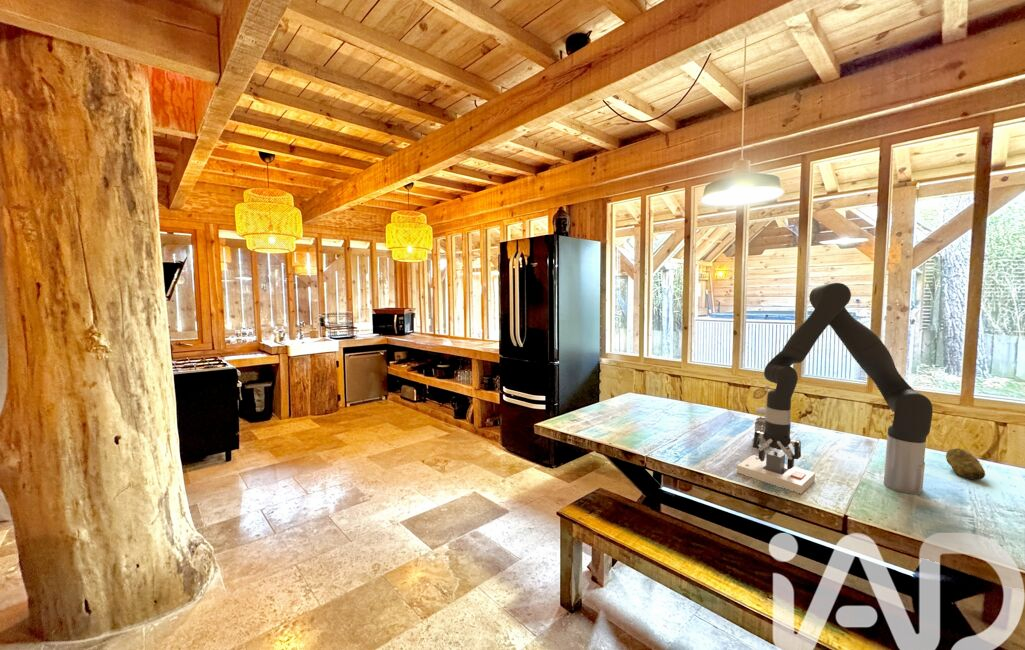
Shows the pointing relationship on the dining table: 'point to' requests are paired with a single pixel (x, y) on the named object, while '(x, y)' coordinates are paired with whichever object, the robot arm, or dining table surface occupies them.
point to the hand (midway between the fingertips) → (775, 464)
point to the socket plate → (790, 479)
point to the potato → (965, 464)
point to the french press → (761, 421)
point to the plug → (775, 462)
